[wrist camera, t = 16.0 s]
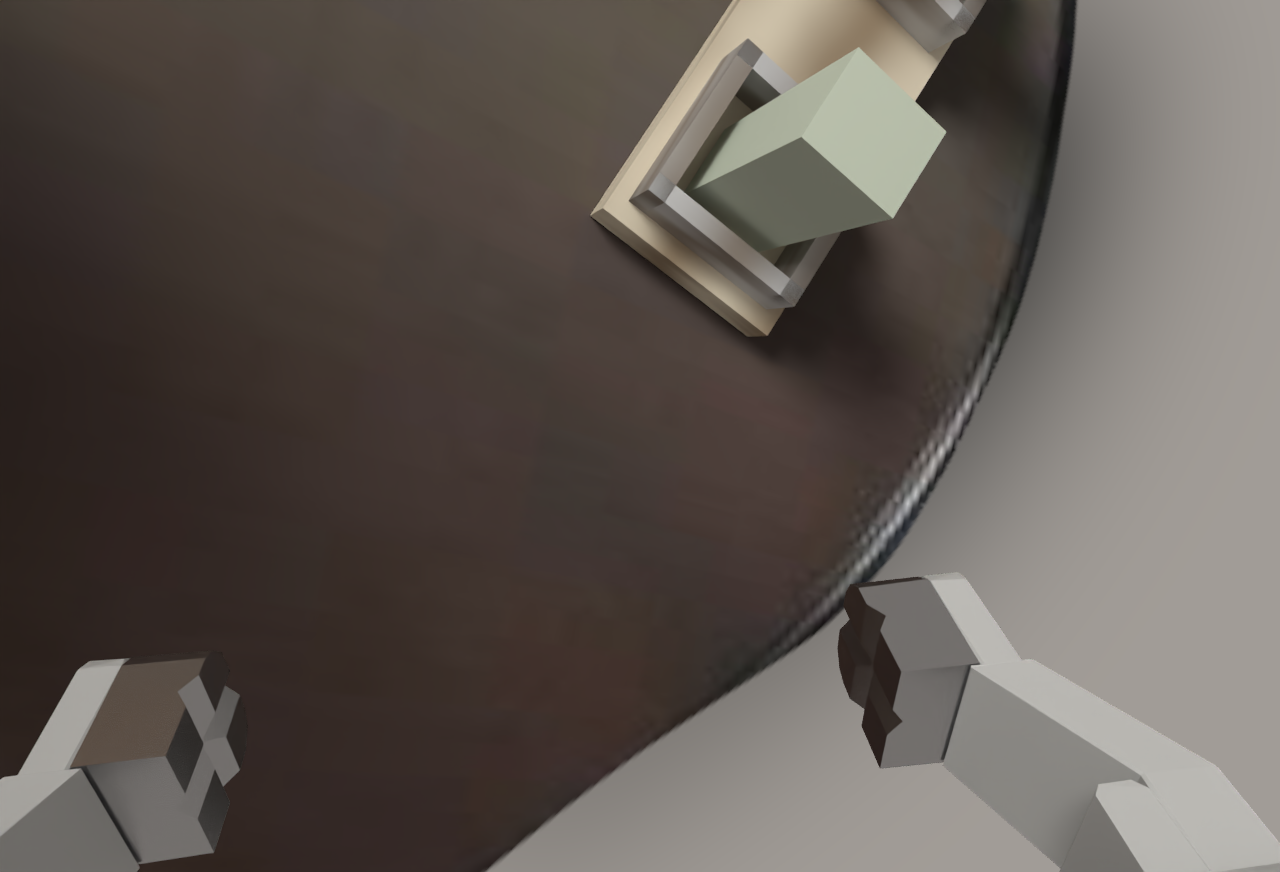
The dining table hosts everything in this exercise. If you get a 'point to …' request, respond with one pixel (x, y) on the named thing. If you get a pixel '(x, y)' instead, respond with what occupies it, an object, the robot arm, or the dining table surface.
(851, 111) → the block
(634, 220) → the cream peg holder
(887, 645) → the robot arm
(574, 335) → the dining table surface
